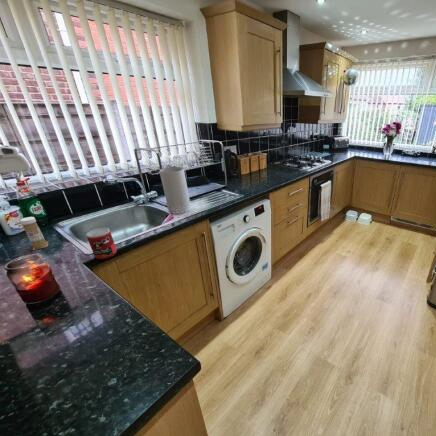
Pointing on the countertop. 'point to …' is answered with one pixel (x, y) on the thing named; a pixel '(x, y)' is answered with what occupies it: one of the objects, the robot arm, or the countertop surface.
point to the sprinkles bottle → (33, 232)
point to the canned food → (101, 243)
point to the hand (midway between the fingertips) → (4, 183)
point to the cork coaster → (41, 247)
